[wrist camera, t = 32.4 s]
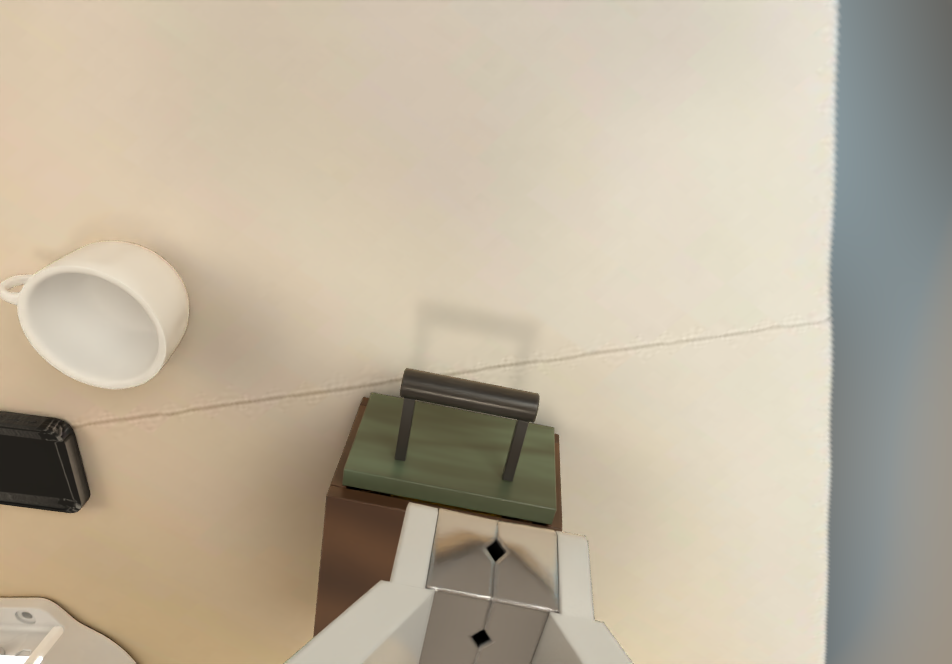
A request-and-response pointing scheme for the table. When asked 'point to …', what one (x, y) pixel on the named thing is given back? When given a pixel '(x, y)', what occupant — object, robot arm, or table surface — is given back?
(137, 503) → the table surface
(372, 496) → the cabinet
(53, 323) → the teacup
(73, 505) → the phone
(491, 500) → the drawer
